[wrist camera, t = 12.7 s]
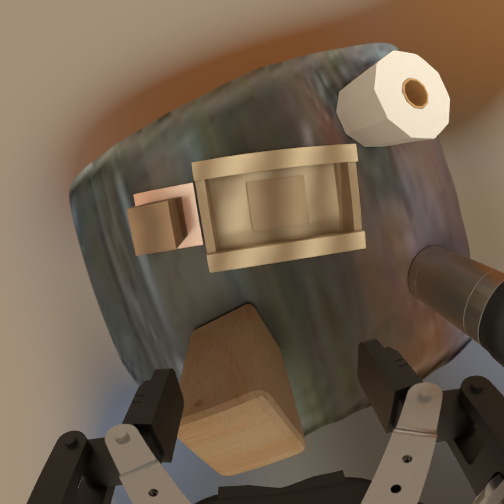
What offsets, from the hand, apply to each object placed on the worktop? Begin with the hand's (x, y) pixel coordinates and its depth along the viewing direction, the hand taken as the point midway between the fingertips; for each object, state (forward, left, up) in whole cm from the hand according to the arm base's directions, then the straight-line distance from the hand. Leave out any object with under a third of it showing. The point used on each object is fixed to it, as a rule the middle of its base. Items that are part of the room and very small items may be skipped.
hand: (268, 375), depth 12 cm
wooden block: (+3, +14, -28) cm, 32 cm away
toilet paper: (-20, -16, -28) cm, 38 cm away
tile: (+9, -5, -28) cm, 30 cm away
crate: (-5, -5, -28) cm, 29 cm away
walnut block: (+9, -5, -27) cm, 29 cm away
